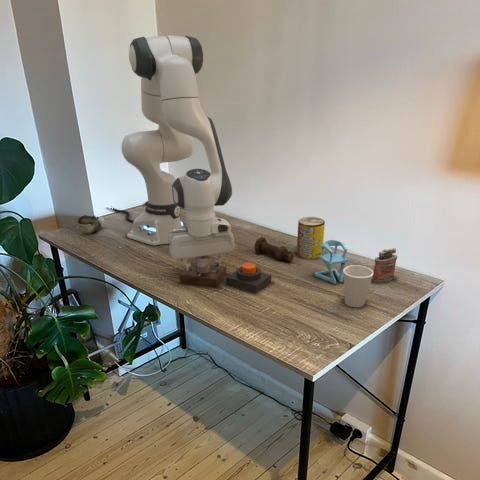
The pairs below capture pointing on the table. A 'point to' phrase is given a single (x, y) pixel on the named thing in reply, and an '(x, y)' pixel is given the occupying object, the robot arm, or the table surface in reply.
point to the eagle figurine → (93, 221)
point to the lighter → (384, 266)
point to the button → (248, 268)
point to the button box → (248, 280)
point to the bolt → (273, 250)
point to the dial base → (203, 276)
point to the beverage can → (310, 237)
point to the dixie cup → (356, 284)
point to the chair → (332, 261)
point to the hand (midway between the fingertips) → (203, 268)
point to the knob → (203, 264)
